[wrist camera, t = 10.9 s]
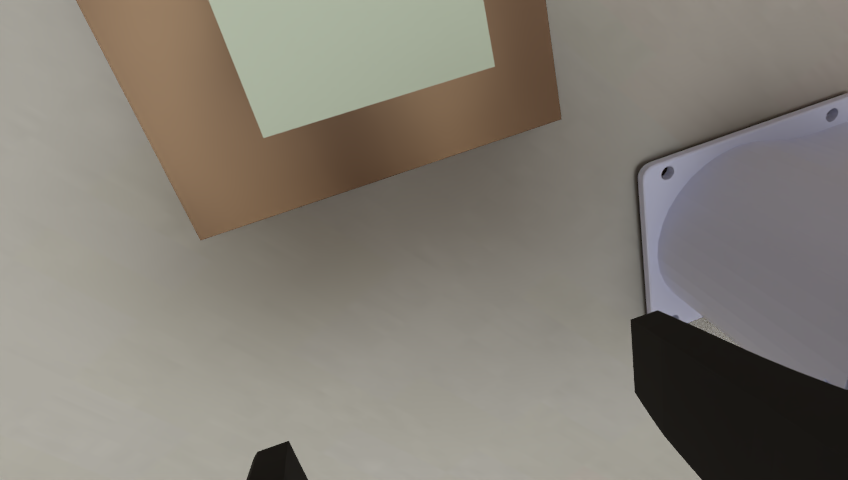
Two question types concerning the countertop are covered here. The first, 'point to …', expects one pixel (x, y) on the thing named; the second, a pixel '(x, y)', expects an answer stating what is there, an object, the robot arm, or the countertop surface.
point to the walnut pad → (317, 142)
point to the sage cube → (347, 52)
